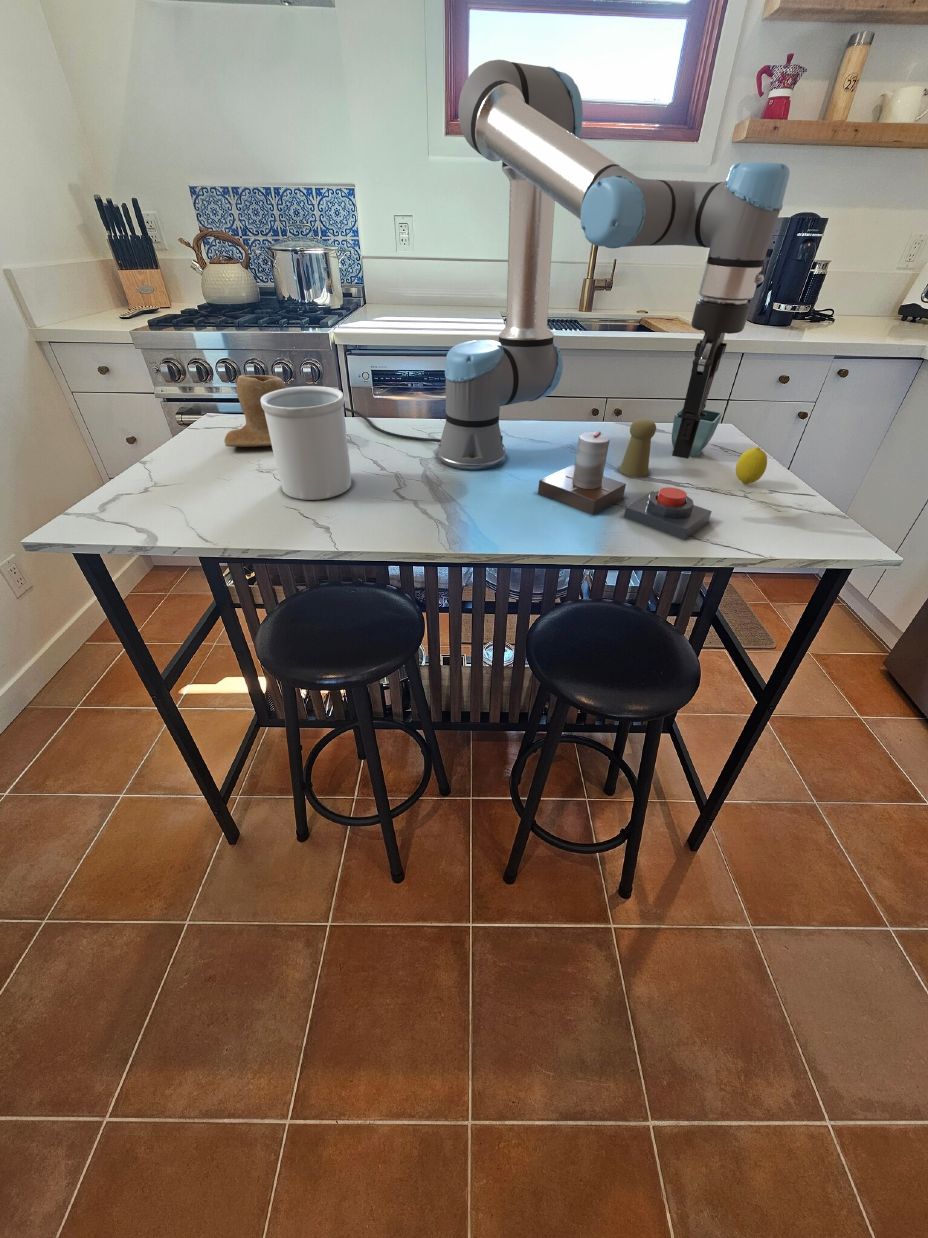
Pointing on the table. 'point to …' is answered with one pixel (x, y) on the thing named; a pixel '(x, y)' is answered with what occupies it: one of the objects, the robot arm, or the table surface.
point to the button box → (667, 515)
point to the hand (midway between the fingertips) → (680, 455)
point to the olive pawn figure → (638, 448)
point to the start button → (672, 496)
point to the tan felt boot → (253, 410)
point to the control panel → (580, 491)
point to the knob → (590, 460)
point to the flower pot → (699, 430)
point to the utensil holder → (309, 440)
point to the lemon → (751, 465)
